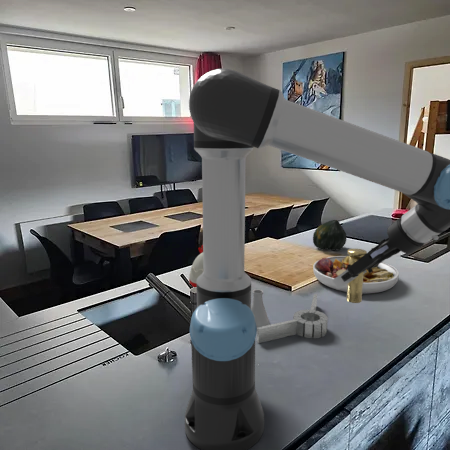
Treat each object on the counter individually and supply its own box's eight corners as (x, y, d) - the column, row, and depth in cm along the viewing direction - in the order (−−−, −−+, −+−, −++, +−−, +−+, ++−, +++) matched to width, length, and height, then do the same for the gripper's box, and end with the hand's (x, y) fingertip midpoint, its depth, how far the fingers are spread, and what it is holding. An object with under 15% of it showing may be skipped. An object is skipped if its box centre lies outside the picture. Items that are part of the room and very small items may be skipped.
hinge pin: (363, 304, 97) (367, 254, 94) (344, 302, 99) (347, 253, 96) (363, 297, 101) (366, 249, 98) (345, 295, 103) (347, 248, 100)
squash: (305, 233, 193) (317, 215, 182) (332, 232, 198) (346, 214, 186) (314, 258, 186) (328, 241, 174) (342, 256, 190) (357, 239, 178)
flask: (249, 330, 112) (249, 297, 110) (241, 319, 119) (241, 288, 116) (273, 327, 114) (274, 294, 111) (264, 316, 120) (265, 285, 118)
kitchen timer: (210, 292, 139) (209, 251, 136) (181, 283, 147) (180, 244, 144) (233, 280, 150) (233, 241, 146) (205, 272, 158) (204, 236, 154)
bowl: (384, 268, 161) (385, 249, 160) (410, 298, 132) (412, 276, 130) (308, 266, 164) (309, 248, 162) (318, 296, 135) (319, 274, 133)
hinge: (324, 352, 100) (324, 338, 99) (256, 342, 105) (256, 329, 104) (329, 307, 126) (330, 295, 125) (274, 301, 131) (275, 289, 130)
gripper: (407, 252, 79) (331, 304, 95) (439, 237, 90) (366, 286, 106) (383, 222, 82) (313, 278, 98) (417, 211, 93) (349, 262, 109)
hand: (341, 282), depth 102 cm, fingers closed on hinge pin, 3 cm apart
